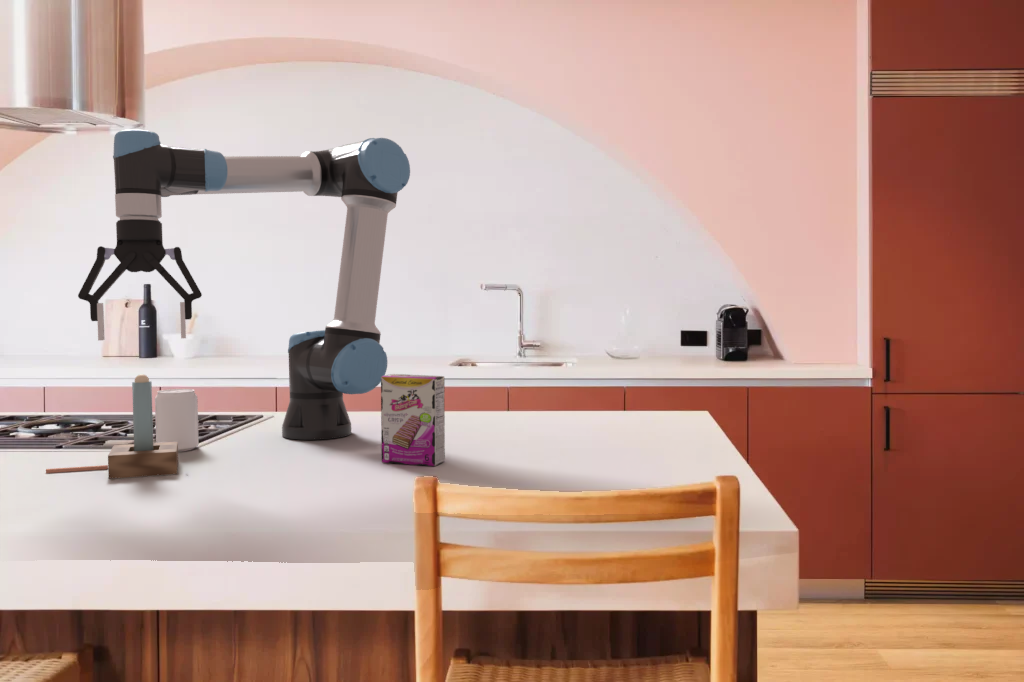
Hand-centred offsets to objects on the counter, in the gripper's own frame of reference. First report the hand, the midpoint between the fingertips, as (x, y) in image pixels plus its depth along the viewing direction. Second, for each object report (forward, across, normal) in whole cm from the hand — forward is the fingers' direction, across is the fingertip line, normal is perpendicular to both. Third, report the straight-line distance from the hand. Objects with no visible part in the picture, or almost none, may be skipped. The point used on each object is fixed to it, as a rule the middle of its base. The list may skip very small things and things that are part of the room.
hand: (143, 339), depth 159 cm
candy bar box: (+24, -47, +10) cm, 53 cm away
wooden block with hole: (+24, 0, 0) cm, 24 cm away
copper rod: (+24, +12, -4) cm, 27 cm away
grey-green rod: (+24, 0, 0) cm, 24 cm away
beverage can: (+24, -5, -21) cm, 32 cm away
